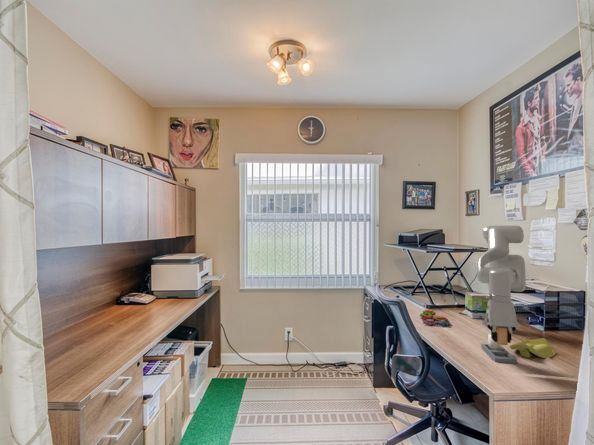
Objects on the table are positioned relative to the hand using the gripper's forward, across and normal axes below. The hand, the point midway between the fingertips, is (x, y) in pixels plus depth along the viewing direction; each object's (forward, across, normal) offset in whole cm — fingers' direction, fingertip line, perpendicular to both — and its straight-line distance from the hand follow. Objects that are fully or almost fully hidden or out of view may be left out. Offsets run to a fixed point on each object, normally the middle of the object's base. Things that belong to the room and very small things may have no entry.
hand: (501, 340), depth 126 cm
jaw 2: (+8, 0, +8) cm, 11 cm away
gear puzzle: (+9, -16, +58) cm, 60 cm away
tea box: (+8, +14, +68) cm, 70 cm away
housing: (+9, 0, +4) cm, 10 cm away
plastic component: (+9, +15, +11) cm, 21 cm away
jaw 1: (+1, 0, 0) cm, 1 cm away
